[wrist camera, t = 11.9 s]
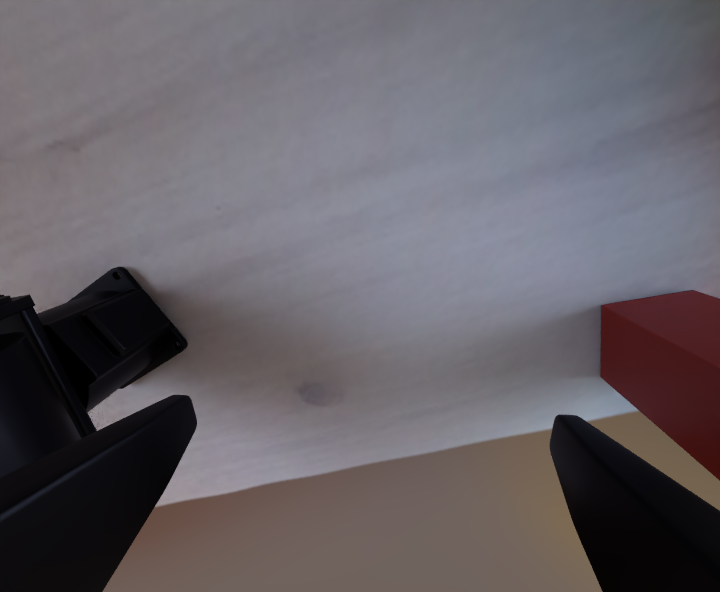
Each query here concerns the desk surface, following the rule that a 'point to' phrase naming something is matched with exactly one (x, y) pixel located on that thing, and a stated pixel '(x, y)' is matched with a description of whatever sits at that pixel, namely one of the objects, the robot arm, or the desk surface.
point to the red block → (669, 366)
